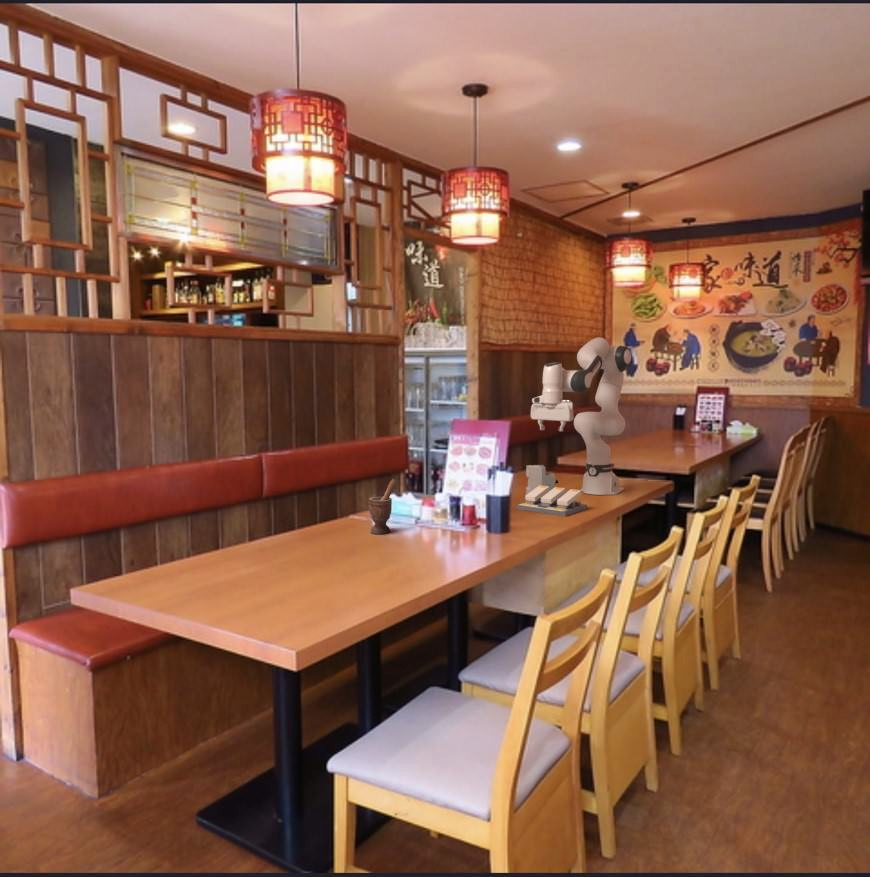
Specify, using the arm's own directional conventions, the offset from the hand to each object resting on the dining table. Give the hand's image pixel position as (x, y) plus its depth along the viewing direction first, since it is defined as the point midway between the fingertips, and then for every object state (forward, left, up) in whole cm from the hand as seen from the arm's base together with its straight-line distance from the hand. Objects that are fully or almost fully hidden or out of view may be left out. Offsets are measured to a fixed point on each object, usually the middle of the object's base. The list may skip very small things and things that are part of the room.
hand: (551, 430), depth 324 cm
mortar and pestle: (+83, -23, -33) cm, 92 cm away
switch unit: (+9, +6, -33) cm, 35 cm away
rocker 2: (+8, +6, -27) cm, 29 cm away
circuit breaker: (-10, -11, -33) cm, 37 cm away
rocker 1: (+8, -2, -27) cm, 28 cm away
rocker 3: (+8, +14, -27) cm, 32 cm away
